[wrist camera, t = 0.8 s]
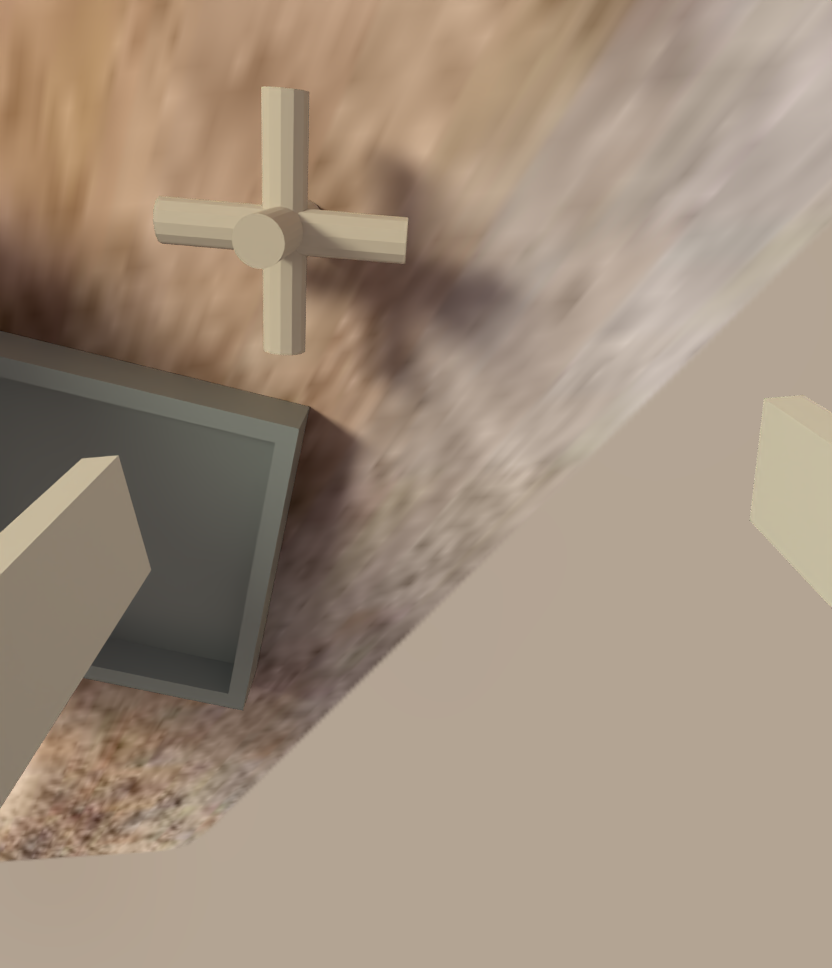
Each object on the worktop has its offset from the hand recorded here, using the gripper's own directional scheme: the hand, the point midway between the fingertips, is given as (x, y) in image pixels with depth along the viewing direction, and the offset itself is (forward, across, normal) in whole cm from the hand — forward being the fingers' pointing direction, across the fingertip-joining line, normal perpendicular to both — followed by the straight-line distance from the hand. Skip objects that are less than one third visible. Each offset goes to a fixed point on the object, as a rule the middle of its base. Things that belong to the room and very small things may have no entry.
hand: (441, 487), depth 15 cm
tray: (+22, -18, -10) cm, 31 cm away
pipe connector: (+22, -5, +4) cm, 23 cm away
